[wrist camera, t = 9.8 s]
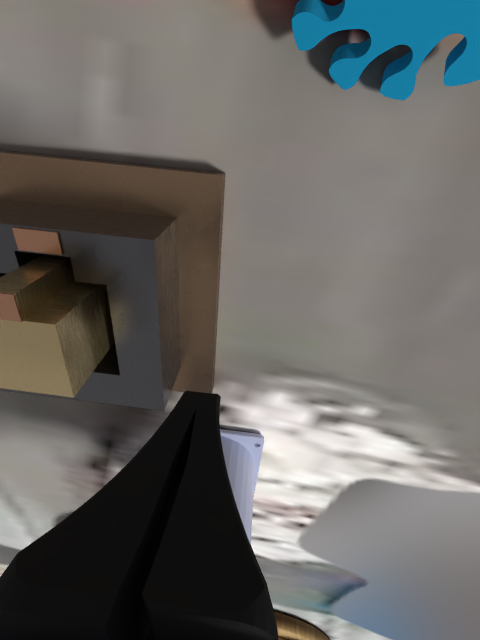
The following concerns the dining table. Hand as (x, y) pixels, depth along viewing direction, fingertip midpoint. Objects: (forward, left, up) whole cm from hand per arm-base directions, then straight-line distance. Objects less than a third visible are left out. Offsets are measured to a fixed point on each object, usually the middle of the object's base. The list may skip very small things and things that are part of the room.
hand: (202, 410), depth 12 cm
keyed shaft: (0, +8, -8) cm, 12 cm away
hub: (0, +8, -9) cm, 12 cm away
